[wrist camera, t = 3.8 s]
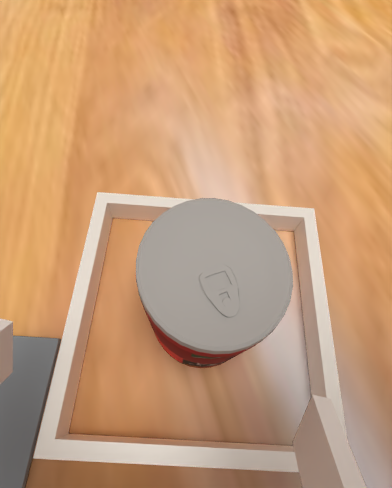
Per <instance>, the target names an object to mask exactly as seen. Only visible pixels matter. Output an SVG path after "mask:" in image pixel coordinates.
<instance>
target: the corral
mask: <svg viewBox="0 0 392 488" xmlns="http://www.w3.org/2000/svg"><path fill="white" fill-rule="evenodd" d="M189 200H194V199H181V198H168V197H154V196H141V195H128V194H115V193H102V192H98V193H97V197H96V201H95V205H94V209H93V213H92V217H91V221H90V226H89V230H88V234H87V238H86V242H85V246H84V250H83V254H82V259H81V263H80V267H79V271H78V275H77V279H76V283H75V287H74V292H73V296H72V300H71V304H70V308H69V312H68V316H67V320H66V325H65V329H64V333H63V337H62V341H61V345H60V349H59V353H58V358H57V362H56V366H55V370H54V374H53V378H52V382H51V386H50V391H49V395H48V399H47V403H46V407H45V411H44V415H43V419H42V424H41V428H40V432H39V436H38V440H37V444H36V448H35V452H34V457H33V459H52V460H72V461H91V462H110V463H129V464H148V465H167V466H186V467H205V468H224V469H243V470H262V471H281V472H299V470H298V465H297V460H296V456H295V451H294V446H286V445H268V444H249V443H231V442H213V441H195V440H176V439H158V438H140V437H122V436H103V435H85V434H69V429H70V424H71V419H72V414H73V409H74V404H75V399H76V395H77V390H78V385H79V380H80V375H81V370H82V365H83V361H84V356H85V351H86V346H87V341H88V336H89V331H90V326H91V322H92V317H93V312H94V307H95V302H96V297H97V292H98V288H99V283H100V278H101V273H102V268H103V263H104V258H105V253H106V249H107V244H108V239H109V234H110V229H111V224H112V219H113V218H121V219H135V220H148V221H155V220H156V219H157V218H158V217H159V216H160V215H161V214H162V213H163V212H165V211H167V210H168V209H170V208H172V207H173V206H175V205H178V204H180V203H183V202H186V201H189ZM237 204H240V205H242V206H244V207H246V208H248V209H250V210H252V211H254V212H255V213H256V214H257V215H259V216H260V217H261V218H263V219H264V220H265V221H266V222H267V223H268V224H269V225H270V226H271V227H272V228H273V229H274V230H284V231H294V236H295V245H296V255H297V264H298V274H299V283H300V293H301V302H302V312H303V321H304V331H305V340H306V350H307V360H308V369H309V379H310V388H311V397H312V395H317V396H321V397H325V398H329V399H331V401H332V403H333V406H334V408H335V411H336V413H337V416H338V418H339V421H340V423H341V426H342V428H343V431H344V433H345V436H346V438H347V433H346V426H345V419H344V412H343V405H342V398H341V391H340V384H339V378H338V371H337V364H336V357H335V350H334V343H333V336H332V329H331V322H330V315H329V308H328V301H327V294H326V287H325V281H324V274H323V267H322V260H321V253H320V246H319V239H318V232H317V225H316V218H315V211H314V209H313V208H300V207H286V206H273V205H260V204H247V203H237Z"/></svg>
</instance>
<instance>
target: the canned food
mask: <svg viewBox="0 0 392 488" xmlns="http://www.w3.org/2000/svg"><path fill="white" fill-rule="evenodd" d="M136 282H137V287H138V292H139V296H140V298H141V302H142V304H143V307H144V309H145V312H146V314H147V316H148V319H149V321H150V323H151V326H152V328H153V330H154V332H155V335H156V337H157V339H158V341H159V342H160V344H161V345H162V347H163V349H164V350H165V351H166V352H167V353H168V354H169V355H170V356H171V357H173V358H174V359H176V360H177V361H179V362H181V363H183V364H186V365H188V366H192V367H198V368H207V367H213V366H217V365H220V364H222V363H224V362H226V361H227V360H229V359H231V358H233V357H235V356H237V355H239V354H240V353H242V352H244V351H246V350H248V349H250V348H251V347H253V346H255V345H256V344H258V343H259V342H261V341H262V340H263V339H264V338H266V337H267V336H268V335H269V334H270V333H271V332H272V331H273V330H274V329H275V328H276V326H277V325H278V323H279V322H280V320H281V319H282V318H283V316H284V315H285V312H286V310H287V307H288V305H289V303H290V299H291V293H292V288H293V276H292V267H291V263H290V259H289V255H288V253H287V251H286V248H285V246H284V244H283V242H282V241H281V239H280V238H279V236H278V235H277V233H276V232H275V230H274V229H273V228H272V227H271V226H270V225H269V224H268V223H267V222H266V221H265V220H264V219H263V218H261V217H260V216H259V215H257V214H256V213H255V212H254V211H252V210H250V209H248V208H246V207H244V206H242V205H240V204H237V203H234V202H231V201H228V200H222V199H216V198H200V199H195V200H189V201H186V202H183V203H180V204H178V205H175V206H173V207H172V208H170V209H168V210H167V211H165V212H163V213H162V214H161V215H160V216H159V217H158V218H157V219H156V220H155V221H154V222H153V223H152V224H151V226H150V227H149V228H148V230H147V231H146V233H145V234H144V237H143V239H142V241H141V243H140V245H139V249H138V254H137V259H136Z"/></svg>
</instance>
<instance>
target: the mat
mask: <svg viewBox="0 0 392 488" xmlns="http://www.w3.org/2000/svg"><path fill="white" fill-rule="evenodd" d="M60 342H61V339H57V338H41V337H26V336H13V372H12V373H11V374H10V375H9V376H8V377H7V378H6V379H5V380H4V381H3V382H2V383H1V384H0V488H25V486H26V482H27V477H28V473H29V469H30V465H31V461H32V457H33V453H34V449H35V445H36V440H37V436H38V432H39V428H40V424H41V420H42V416H43V412H44V408H45V404H46V399H47V395H48V391H49V387H50V383H51V379H52V375H53V371H54V367H55V362H56V358H57V354H58V350H59V346H60Z"/></svg>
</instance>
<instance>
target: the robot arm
mask: <svg viewBox="0 0 392 488" xmlns="http://www.w3.org/2000/svg"><path fill="white" fill-rule="evenodd" d="M12 372H13V321H9V320H4V319H0V384H1V383H2V382H3V381H4V380H5V379H6V378H7V377H8V376H9V375H10V374H11V373H12ZM293 446H294V451H295V456H296V460H297V465H298V470H299V474H300V479H301V484H302V488H367V487H366V485H365V482H364V480H363V477H362V475H361V472H360V470H359V468H358V465H357V463H356V460H355V458H354V455H353V453H352V450H351V448H350V445H349V443H348V440H347V438H346V436H345V433H344V431H343V428H342V426H341V423H340V421H339V418H338V416H337V413H336V411H335V408H334V406H333V403H332V401H331V399H329V398H325V397H321V396H317V395H312V397H311V399H310V401H309V404H308V406H307V409H306V411H305V413H304V416H303V418H302V421H301V423H300V426H299V428H298V430H297V433H296V435H295V438H294V440H293Z"/></svg>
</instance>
